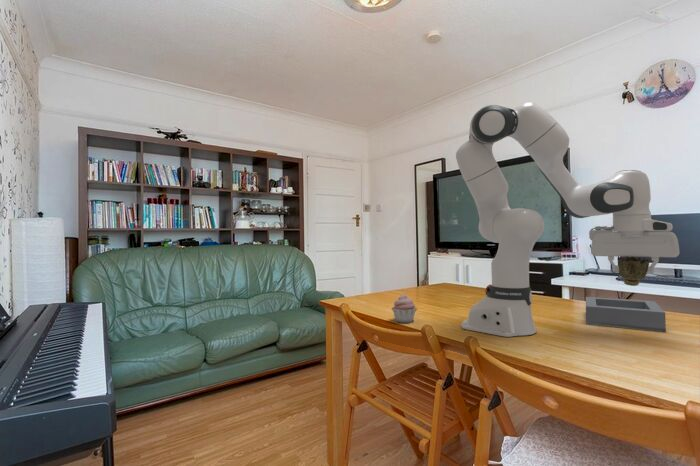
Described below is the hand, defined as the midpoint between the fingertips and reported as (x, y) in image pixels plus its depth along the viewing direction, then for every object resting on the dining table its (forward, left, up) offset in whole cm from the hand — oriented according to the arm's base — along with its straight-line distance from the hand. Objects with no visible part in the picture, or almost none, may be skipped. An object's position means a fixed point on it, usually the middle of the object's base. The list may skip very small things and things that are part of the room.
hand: (632, 272), depth 103 cm
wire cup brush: (0, +1, -4) cm, 4 cm away
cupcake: (-67, -16, -19) cm, 71 cm away
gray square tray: (-2, +19, -19) cm, 27 cm away
